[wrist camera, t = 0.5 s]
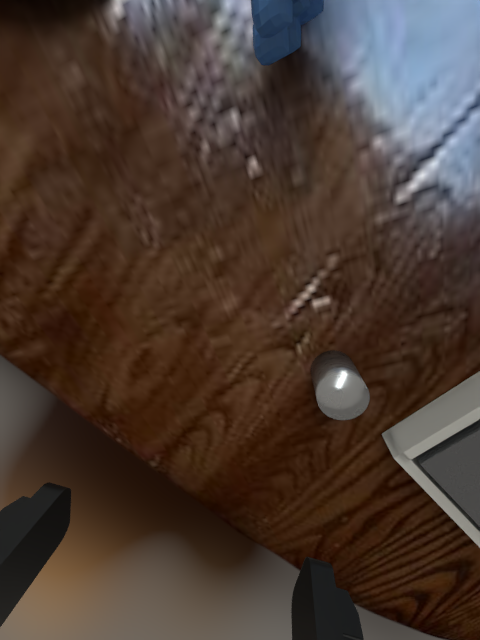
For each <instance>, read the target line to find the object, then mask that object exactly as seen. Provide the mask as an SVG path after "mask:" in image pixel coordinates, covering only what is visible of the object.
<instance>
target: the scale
mask: <svg viewBox="0 0 480 640" xmlns="http://www.w3.org/2000/svg"><path fill="white" fill-rule="evenodd" d="M479 419H480V371H479V372H478V373H476V374H474V375H473V376H471V377H470V378H468V379H467V380H465V381H464V382H462V383H460V384H459V385H457V386H456V387H454V388H453V389H451V390H449V391H448V392H446V393H445V394H443V395H442V396H440V397H438V398H437V399H435V400H434V401H432V402H431V403H429V404H428V405H426V406H424V407H423V408H421V409H420V410H418V411H417V412H415V413H413V414H412V415H410V416H409V417H407V418H406V419H404V420H403V421H401V422H399V423H398V424H396V425H395V426H393V427H392V428H390V429H388V430H387V431H385V432H384V433H382V436H383V438H384V440H385V442H386V444H387V446H388V448H389V450H390V452H391V454H392V456H393V458H394V459H395V460H396V461H397V462H398V463H399V464H400V465H401V466H402V468H403V469H404V470H405V471H406V472H407V473H408V474H409V475H410V476H411V477H412V478H413V479H414V480H415V481H416V482H417V483H418V484H419V485H420V486H421V487H422V488H423V489H424V490H425V491H426V492H427V493H428V494H429V495H430V497H431V498H432V499H433V500H434V501H435V502H436V503H437V504H438V505H439V506H440V507H441V508H442V509H443V510H444V511H445V512H446V513H447V514H448V515H449V516H450V517H451V518H452V519H453V520H454V521H455V522H456V523H457V524H458V526H459V527H460V528H461V529H462V530H463V531H464V532H465V533H466V534H467V535H468V536H469V537H470V538H471V539H472V540H473V541H474V542H475V543H476V544H477V545H478V546H479V547H480V527H479V526H478V525H477V524H476V522H475V521H474V520H473V519H472V518H471V517H470V516H469V515H468V514H467V513H466V512H465V511H464V510H463V509H462V508H461V507H460V506H459V505H458V504H457V503H456V502H455V500H454V499H453V498H452V497H451V496H450V495H449V494H448V493H447V492H446V491H445V490H444V489H443V488H442V487H441V486H440V485H439V484H438V483H437V482H436V481H435V479H434V478H433V477H432V476H431V475H430V474H429V473H428V472H427V471H426V470H425V469H424V468H423V467H422V466H421V465H420V463H419V462H418V460H417V458H416V457H417V456H418V455H420V454H422V453H423V452H425V451H427V450H428V449H430V448H432V447H434V446H435V445H437V444H439V443H440V442H442V441H444V440H445V439H447V438H449V437H450V436H452V435H454V434H456V433H457V432H459V431H461V430H462V429H464V428H466V427H467V426H469V425H471V424H472V423H474V422H476V421H478V420H479Z"/></svg>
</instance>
